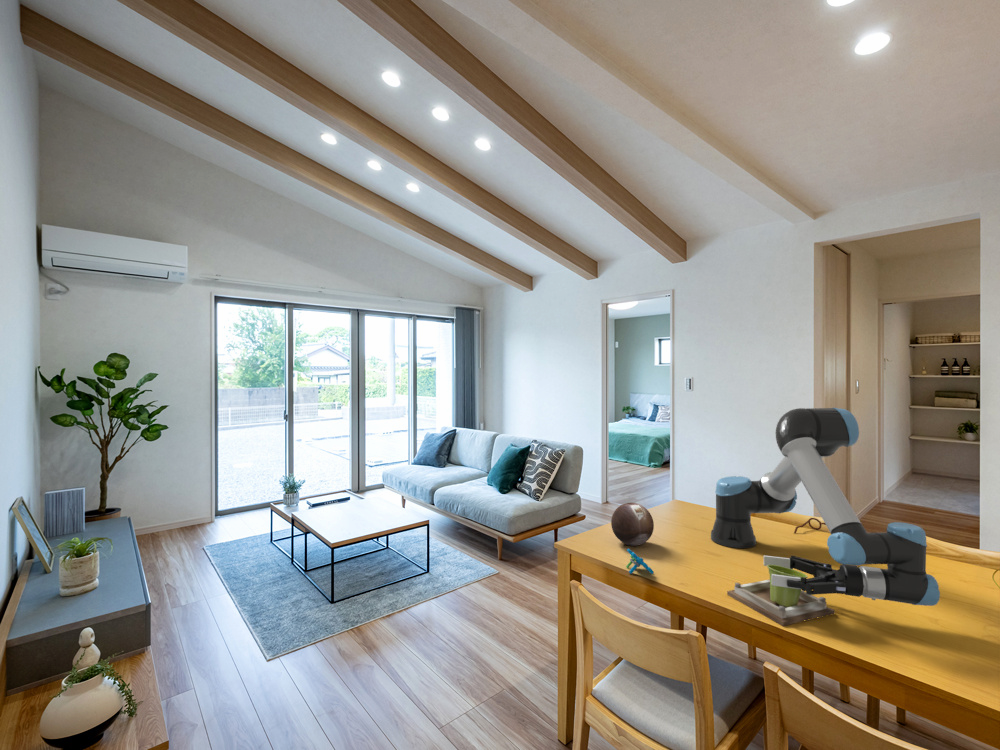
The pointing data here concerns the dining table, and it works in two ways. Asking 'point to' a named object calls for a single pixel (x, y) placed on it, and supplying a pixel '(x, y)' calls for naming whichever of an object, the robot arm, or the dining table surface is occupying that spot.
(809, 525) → the glasses
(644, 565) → the blue plastic toy
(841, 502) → the robot arm
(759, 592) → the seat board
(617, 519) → the wooden sphere
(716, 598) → the dining table surface
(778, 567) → the plant pot
